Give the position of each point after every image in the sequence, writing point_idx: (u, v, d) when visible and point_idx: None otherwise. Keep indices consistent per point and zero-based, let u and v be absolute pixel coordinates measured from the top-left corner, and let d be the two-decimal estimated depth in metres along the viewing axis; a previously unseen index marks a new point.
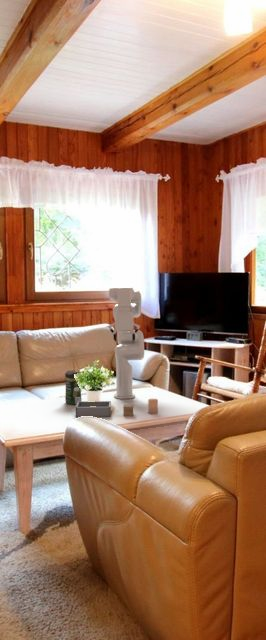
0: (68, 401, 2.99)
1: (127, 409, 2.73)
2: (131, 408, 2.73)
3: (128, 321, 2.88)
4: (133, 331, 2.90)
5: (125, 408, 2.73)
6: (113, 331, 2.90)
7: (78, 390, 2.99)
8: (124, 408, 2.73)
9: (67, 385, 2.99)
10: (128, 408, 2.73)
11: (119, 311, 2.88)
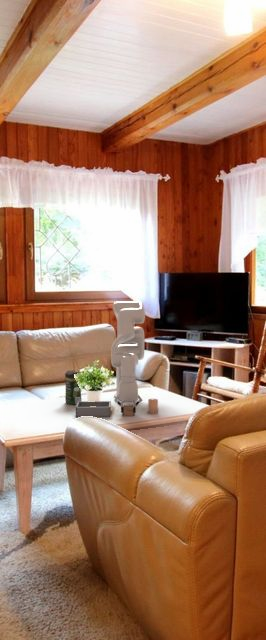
0: (68, 401, 2.99)
1: (127, 409, 2.73)
2: (131, 408, 2.73)
3: (132, 392, 2.73)
4: (134, 404, 2.74)
5: (125, 408, 2.73)
6: (120, 404, 2.75)
7: (78, 390, 2.99)
8: (124, 408, 2.73)
9: (67, 385, 2.99)
10: (128, 408, 2.73)
11: (123, 381, 2.72)
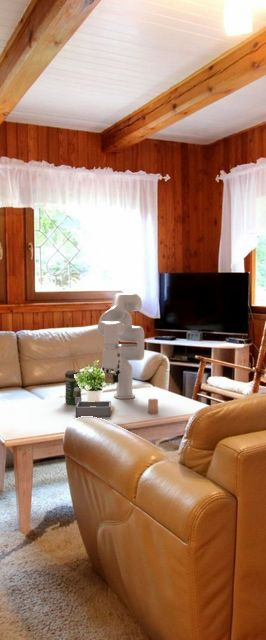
0: (68, 401, 2.99)
1: (107, 376, 2.74)
2: (110, 375, 2.72)
3: (111, 359, 2.71)
4: (114, 372, 2.72)
5: (106, 375, 2.74)
6: None
7: (78, 390, 2.99)
8: (105, 374, 2.75)
9: (67, 385, 2.99)
10: (108, 375, 2.73)
11: (104, 348, 2.74)
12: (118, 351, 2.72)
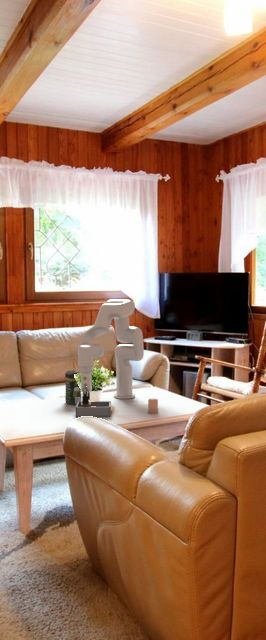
0: (68, 401, 2.99)
1: None
2: (81, 405, 2.77)
3: None
4: None
5: None
6: None
7: (78, 390, 2.99)
8: None
9: (67, 385, 2.99)
10: None
11: None
12: (85, 374, 2.72)
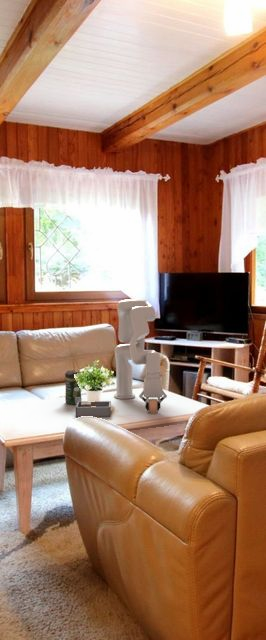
0: (68, 401, 2.99)
1: None
2: (81, 405, 2.77)
3: (157, 388, 2.77)
4: (159, 400, 2.78)
5: None
6: (145, 400, 2.79)
7: (78, 390, 2.99)
8: None
9: (67, 385, 2.99)
10: None
11: (148, 378, 2.76)
12: (161, 379, 2.79)
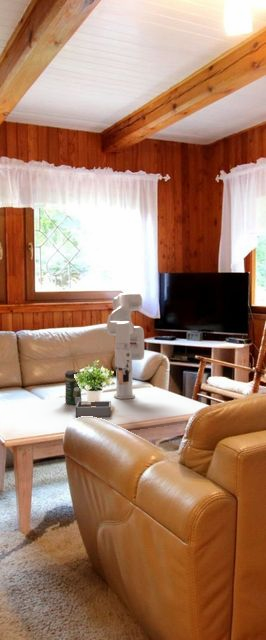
0: (68, 401, 2.99)
1: None
2: (81, 405, 2.77)
3: (121, 359, 2.74)
4: (124, 371, 2.74)
5: None
6: (117, 370, 2.81)
7: (78, 390, 2.99)
8: None
9: (67, 385, 2.99)
10: None
11: None
12: (127, 351, 2.73)
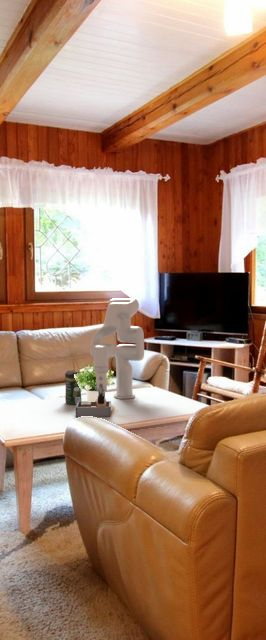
0: (68, 401, 2.99)
1: None
2: (81, 405, 2.77)
3: (96, 381, 2.75)
4: (98, 393, 2.73)
5: None
6: None
7: (78, 390, 2.99)
8: None
9: (67, 385, 2.99)
10: None
11: None
12: (101, 374, 2.73)
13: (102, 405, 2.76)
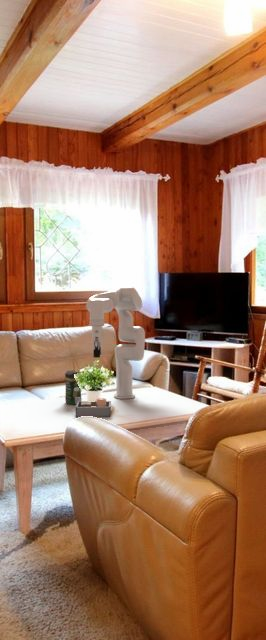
0: (68, 401, 2.99)
1: None
2: (81, 405, 2.77)
3: (92, 335, 2.73)
4: (94, 347, 2.71)
5: None
6: None
7: (78, 390, 2.99)
8: None
9: (67, 385, 2.99)
10: None
11: None
12: (96, 327, 2.71)
13: (102, 405, 2.76)
